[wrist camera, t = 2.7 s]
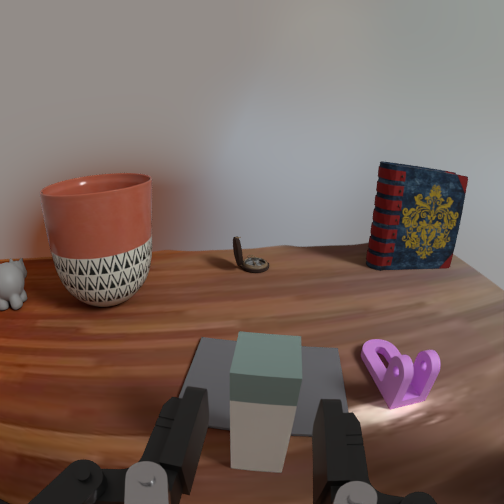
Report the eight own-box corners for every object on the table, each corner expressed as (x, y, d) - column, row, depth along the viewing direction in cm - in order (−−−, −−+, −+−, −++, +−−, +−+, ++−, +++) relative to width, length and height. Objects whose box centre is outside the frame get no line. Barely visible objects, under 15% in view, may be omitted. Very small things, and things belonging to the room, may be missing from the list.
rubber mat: (337, 350, 45) (337, 348, 45) (350, 436, 30) (351, 434, 30) (202, 339, 46) (201, 337, 46) (171, 420, 32) (170, 418, 31)
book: (371, 271, 71) (388, 163, 62) (360, 259, 77) (374, 159, 68) (450, 269, 73) (469, 177, 64) (437, 258, 80) (453, 172, 70)
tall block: (283, 435, 31) (300, 336, 25) (281, 472, 26) (302, 378, 21) (237, 431, 31) (239, 331, 26) (230, 468, 26) (229, 372, 21)
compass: (272, 272, 69) (274, 240, 66) (236, 275, 67) (236, 242, 64) (263, 258, 76) (264, 228, 73) (229, 259, 74) (230, 229, 72)
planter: (115, 341, 44) (92, 199, 36) (42, 307, 50) (19, 193, 42) (178, 286, 61) (174, 174, 53) (106, 268, 67) (96, 172, 59)
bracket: (424, 401, 34) (443, 361, 31) (389, 410, 33) (407, 369, 31) (386, 344, 46) (397, 306, 43) (355, 348, 45) (365, 309, 43)
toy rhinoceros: (42, 284, 58) (34, 247, 54) (21, 314, 47) (9, 272, 43) (16, 284, 56) (7, 248, 53) (-7, 313, 45) (-19, 272, 42)
